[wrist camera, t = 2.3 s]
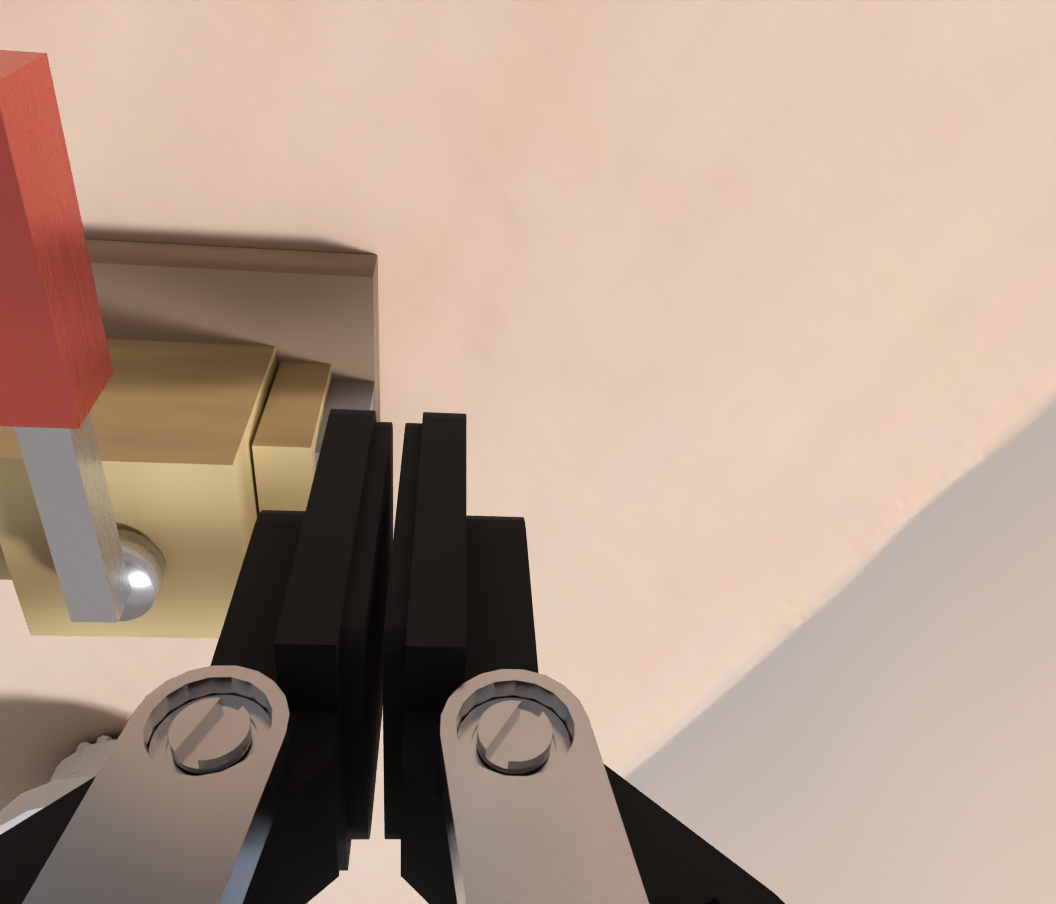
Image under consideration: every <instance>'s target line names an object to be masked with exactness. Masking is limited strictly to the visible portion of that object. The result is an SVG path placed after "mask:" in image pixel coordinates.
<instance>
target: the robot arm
mask: <svg viewBox="0 0 1056 904" xmlns="http://www.w3.org/2000/svg"><path fill="white" fill-rule="evenodd" d="M382 709H383V744H384V821H385V839H401V876H402V877H403V878H404V879H405V880H406V881H407V882H408V883H409V884H410V885H411V886H412V887H413V888H414V889H415V890H416V891H417V892H418V893H419V894H420V895H421V896H422V897H423V898H424V899H425V900H426V901H427V902H428V903H429V904H785V903H784V902H783V901H782V900H781V899H780V898H779V897H778V896H777V895H775V894H774V893H773V892H772V891H771V890H769V889H768V888H767V887H765V886H764V885H763V884H761V883H760V882H759V881H757V880H756V879H755V878H754V877H752V876H751V875H749V874H748V873H747V872H746V871H744V870H743V869H742V868H740V867H739V866H738V865H736V864H735V863H734V862H732V861H731V860H730V859H729V858H727V857H726V856H725V855H723V854H722V853H721V852H719V851H718V850H717V849H715V848H714V847H713V846H711V845H710V844H709V843H707V842H706V841H705V840H703V839H702V838H701V837H700V836H698V835H697V834H695V833H694V832H693V831H692V830H690V829H689V828H688V827H686V826H685V825H684V824H682V823H681V822H680V821H678V820H677V819H676V818H674V817H673V816H672V815H671V814H669V813H668V812H667V811H665V810H664V809H662V808H661V807H660V806H659V805H657V804H656V803H655V802H653V801H652V800H651V799H649V798H648V797H647V796H645V795H644V794H643V793H642V792H640V791H639V790H638V789H636V788H635V787H634V786H632V785H631V784H630V783H628V782H627V781H626V780H624V779H623V778H622V777H620V776H619V775H618V774H616V773H615V772H614V771H613V770H611V769H610V768H609V767H607V766H606V765H605V764H603V761H602V758H601V755H600V751H599V748H598V745H597V742H596V739H595V736H594V733H593V730H592V727H591V724H590V721H589V718H588V716H587V714H586V712H585V710H584V708H583V706H582V704H581V702H580V701H579V699H578V698H577V697H576V696H575V695H574V694H573V693H572V692H571V691H569V690H568V689H567V688H566V687H565V686H564V685H563V684H561V683H559V682H557V681H555V680H553V679H552V678H550V677H548V676H546V675H543V674H539V673H538V664H537V652H536V641H535V629H534V618H533V607H532V595H531V584H530V572H529V561H528V549H527V538H526V527H525V520H524V518H523V517H495V516H466V414H456V413H430V412H423V422H422V424H420V423H406V425H405V434H404V443H403V453H402V462H401V472H400V481H399V491H398V500H397V510H396V519H395V529H394V538H393V426H392V422H377V419H376V411H375V410H353V409H331V410H330V413H329V417H328V421H327V425H326V429H325V433H324V437H323V441H322V446H321V450H320V454H319V458H318V462H317V466H316V470H315V474H314V479H313V483H312V487H311V491H310V495H309V499H308V503H307V508H306V511H284V510H262V511H261V512H260V513H259V515H258V517H257V519H256V522H255V525H254V528H253V532H252V535H251V538H250V541H249V544H248V548H247V551H246V554H245V557H244V560H243V564H242V567H241V570H240V573H239V576H238V580H237V583H236V586H235V589H234V592H233V596H232V599H231V602H230V605H229V608H228V612H227V615H226V618H225V621H224V624H223V628H222V631H221V634H220V637H219V640H218V644H217V647H216V650H215V653H214V656H213V660H212V663H211V666H209V667H204V668H200V669H195V670H190V671H188V672H185V673H183V674H181V675H179V676H177V677H174V678H172V679H170V680H168V681H166V682H165V683H163V684H162V685H161V686H159V687H158V688H157V689H155V690H154V691H153V692H151V693H150V694H148V695H147V696H146V697H145V699H144V700H143V701H142V702H141V704H140V705H139V706H138V707H137V709H136V710H135V711H134V712H133V714H132V715H131V717H130V719H129V721H128V722H127V724H126V726H125V728H124V729H123V731H122V733H121V734H120V736H119V738H118V740H117V741H116V743H115V745H114V746H113V748H112V750H111V752H110V753H109V755H108V757H107V758H106V760H105V762H104V764H103V765H102V767H101V769H100V770H99V772H98V774H97V775H96V776H95V777H93V778H91V779H90V780H88V781H87V782H85V783H83V784H82V785H80V786H78V787H77V788H75V789H74V790H72V791H70V792H69V793H67V794H65V795H64V796H62V797H61V798H59V799H57V800H56V801H54V802H52V803H51V804H49V805H48V806H46V807H44V808H43V809H41V810H40V811H38V812H36V813H35V814H33V815H31V816H30V817H28V818H27V819H25V820H23V821H22V822H20V823H18V824H17V825H15V826H14V827H12V828H10V829H9V830H7V831H5V832H4V833H2V834H1V835H0V904H308V902H309V901H310V900H311V899H312V898H313V897H315V896H316V895H317V894H318V893H319V892H321V891H322V890H323V889H324V888H325V887H326V886H328V885H329V884H330V883H331V882H332V881H334V880H335V879H336V878H337V877H338V876H339V870H348V864H349V855H350V847H351V839H369V838H370V831H371V822H372V812H373V801H374V791H375V781H376V771H377V760H378V750H379V740H380V729H381V719H382Z"/></svg>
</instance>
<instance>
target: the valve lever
mask: <svg viewBox="0 0 1056 904" xmlns="http://www.w3.org/2000/svg"><path fill="white" fill-rule="evenodd" d="M112 375H113V369H112V364H111V359H110V354H109V350H108V345H107V340H106V335H105V331H104V326H103V321H102V316H101V311H100V307H99V302H98V297H97V292H96V287H95V283H94V278H93V273H92V268H91V263H90V259H89V254H88V249H87V244H86V239H85V235H84V230H83V225H82V220H81V216H80V211H79V206H78V201H77V196H76V192H75V187H74V182H73V177H72V172H71V168H70V163H69V158H68V153H67V148H66V144H65V139H64V134H63V129H62V124H61V120H60V115H59V110H58V105H57V101H56V96H55V91H54V86H53V81H52V77H51V72H50V67H49V62H48V57H47V53H34V52H20V51H6V50H0V426H8V427H14V429H15V432H16V436H17V439H18V443H19V446H20V450H21V453H22V456H23V460H24V463H25V467H26V470H27V473H28V477H29V480H30V484H31V487H32V491H33V494H34V497H35V501H36V504H37V508H38V511H39V514H40V518H41V521H42V525H43V528H44V532H45V535H46V538H47V542H48V545H49V549H50V552H51V555H52V559H53V562H54V566H55V569H56V572H57V576H58V579H59V583H60V586H61V590H62V593H63V596H64V600H65V603H66V607H67V610H68V613H69V617H70V620H71V622H108V623H118V622H119V621H129V620H133V619H136V618H139V617H141V616H142V615H144V614H145V613H147V612H148V611H149V610H150V608H151V607H152V605H153V603H154V601H155V598H156V595H157V593H158V590H159V588H160V585H161V583H162V580H163V578H164V575H165V572H166V560H165V557H164V555H163V553H162V552H161V550H160V549H159V548H158V547H157V546H156V545H155V544H154V543H153V542H152V541H150V540H149V539H147V538H146V537H144V536H142V535H140V534H137V533H134V532H131V531H127V530H122V529H117V525H116V521H115V517H114V512H113V508H112V504H111V499H110V495H109V491H108V486H107V482H106V478H105V474H104V469H103V465H102V461H101V456H100V452H99V448H98V443H97V439H96V435H95V430H94V426H93V422H92V418H91V413H90V410H91V408H92V407H93V405H94V404H95V402H96V401H97V399H98V397H99V396H100V394H101V393H102V391H103V389H104V388H105V386H106V385H107V383H108V382H109V380H110V378H111V377H112Z"/></svg>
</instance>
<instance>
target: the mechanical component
mask: <svg viewBox="0 0 1056 904" xmlns="http://www.w3.org/2000/svg"><path fill="white" fill-rule="evenodd" d="M118 738H119V737H118ZM117 740H118V739H114V740H112V738H111V737H109V736H104V735H102V736H100V737H98V738H97V742H96V743H95V744H91V743H88V742H82V743H80V744H79V746H78V748H77V750H76V752H75V753H73V754H71V755H70V756H68V757H66V758H65V759H63V760H62V761H61V762H60V764H59V765H58V766H57V767H56V769H55V772H54V774H53V775H52V777H51V780H50V782H49V783H47V784H44V785H41V786H39V787H36V788H33V789H31V790H28V791H25V792H23V793H21V794H20V795H19V796H17V797H16V798H15V799H14V800H13V801H11V802H10V803H9V804H8V805H7V806H5V807H4V808H3V809H2V810H1V811H0V835H1V834H2V833H4V832H5V831H7V830H9V829H10V828H12V827H14V826H15V825H17V824H18V823H20V822H22V821H23V820H25V819H27V818H28V817H30V816H31V815H33V814H35V813H36V812H38V811H40V810H41V809H43V808H44V807H46V806H48V805H49V804H51V803H52V802H54V801H56V800H57V799H59V798H61V797H62V796H64V795H65V794H67V793H69V792H70V791H72V790H74V789H75V788H77V787H78V786H80V785H82V784H83V783H85V782H87V781H88V780H90V779H91V778H93V777H95V776H96V775H97V774H98V772H99V770H100V769H101V767H102V765H103V764H104V762H105V760H106V758H107V757H108V755H109V753H110V752H111V750H112V748H113V746H114V745H115V743H116V741H117Z"/></svg>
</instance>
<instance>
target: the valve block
mask: <svg viewBox="0 0 1056 904" xmlns="http://www.w3.org/2000/svg"><path fill="white" fill-rule="evenodd" d="M86 244H87V249H88V254H89V259H90V263H91V268H92V273H93V278H94V283H95V287H96V292H97V297H98V302H99V307H100V311H101V316H102V321H103V326H104V331H105V335H106V340H107V345H108V350H109V354H110V359H111V364H112V369H113V375H112V377H111V378H110V380H109V382H108V383H107V385H106V386H105V388H104V389H103V391H102V393H101V394H100V396H99V397H98V399H97V401H96V402H95V404H94V405H93V407H92V408H91V410H90V413H91V418H92V422H93V426H94V430H95V435H96V439H97V443H98V448H99V452H100V456H101V461H102V465H103V469H104V474H105V478H106V482H107V486H108V491H109V495H110V499H111V504H112V508H113V512H114V517H115V521H116V525H117V529H122V530H127V531H131V532H134V533H137V534H140V535H142V536H144V537H146V538H147V539H149V540H150V541H152V542H153V543H154V544H155V545H156V546H157V547H158V548H159V549H160V550H161V552H162V553H163V555H164V557H165V560H166V572H165V575H164V578H163V580H162V583H161V585H160V588H159V590H158V593H157V595H156V598H155V601H154V603H153V605H152V607H151V608H150V610H149V611H148V612H147V613H145V614H144V615H142V616H141V617H139V618H136V619H133V620H129V621H119V622H118V623H108V622H71V620H70V617H69V613H68V610H67V607H66V603H65V600H64V596H63V593H62V590H61V586H60V583H59V579H58V576H57V572H56V569H55V566H54V562H53V559H52V555H51V552H50V549H49V545H48V542H47V538H46V535H45V532H44V528H43V525H42V521H41V518H40V514H39V511H38V508H37V504H36V501H35V497H34V494H33V491H32V487H31V484H30V480H29V477H28V473H27V470H26V467H25V463H24V460H23V456H22V453H21V450H20V446H19V443H18V439H17V436H16V432H15V429H14V427H8V426H0V579H9V580H12V581H13V584H14V587H15V590H16V593H17V596H18V599H19V602H20V605H21V608H22V611H23V614H24V617H25V620H26V623H27V626H28V629H29V632H30V635H41V636H106V637H172V638H219V637H220V634H221V631H222V628H223V624H224V621H225V618H226V615H227V612H228V608H229V605H230V602H231V599H232V596H233V592H234V589H235V586H236V583H237V580H238V576H239V573H240V570H241V567H242V564H243V560H244V557H245V554H246V551H247V548H248V544H249V541H250V538H251V535H252V532H253V528H254V525H255V522H256V519H257V517H258V515H259V513H260V512H261V511H262V510H284V511H306V508H307V503H308V499H309V495H310V491H311V487H312V483H313V479H314V474H315V470H316V466H317V462H318V458H319V454H320V450H321V446H322V441H323V437H324V433H325V429H326V425H327V421H328V417H329V413H330V410H331V409H353V410H375V411H376V419H377V422H380V396H379V329H378V262H377V255H369V254H351V253H332V252H314V251H295V250H277V249H258V248H240V247H221V246H203V245H184V244H166V243H147V242H129V241H110V240H92V239H86Z"/></svg>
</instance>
